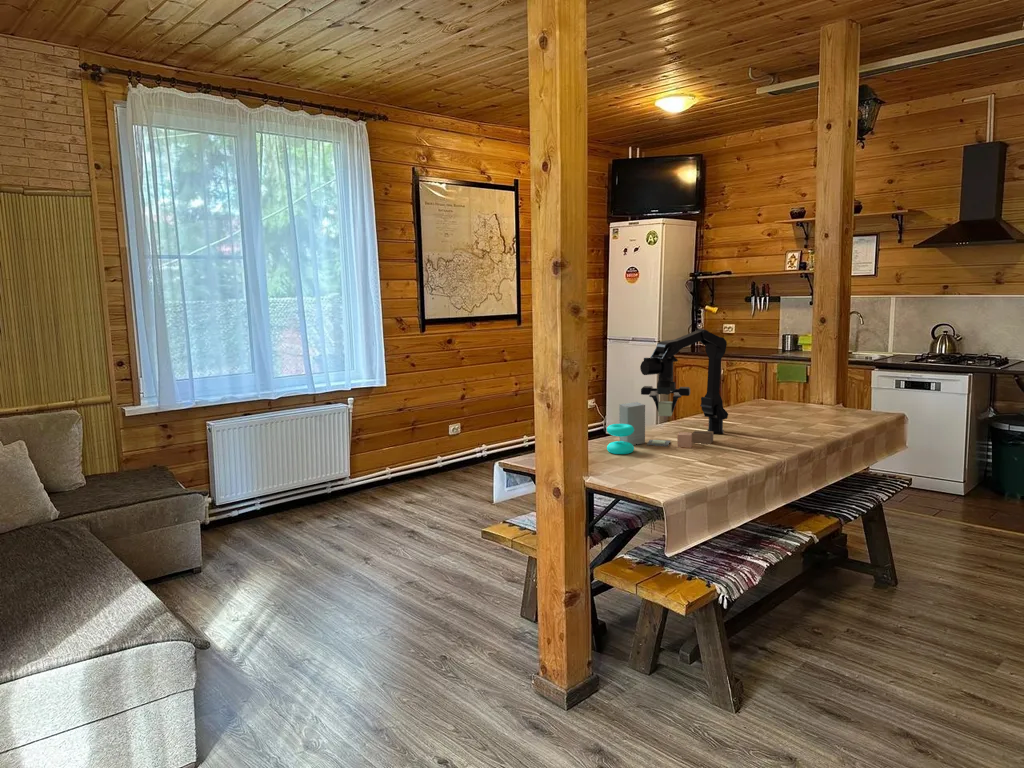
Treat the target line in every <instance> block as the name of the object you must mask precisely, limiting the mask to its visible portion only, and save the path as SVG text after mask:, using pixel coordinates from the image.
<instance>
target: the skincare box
mask: <svg viewBox="0 0 1024 768" xmlns="http://www.w3.org/2000/svg"><path fill="white" fill-rule="evenodd" d="M618 406H619V409H618V410H619V413H618V414H619V418H618V419H619V420H618V421H619V422H618V424H629V425H631V426H633V427H634V432H633V433H632V434H631V435H629V436H623V437H619V441H625V442H629V443H631V444H632V445H633V446H635V445H636V444H637V445H642V444H645V443H646V404H645V403H641V402H638V401H635V402H629V403H622V404H619V405H618Z"/></svg>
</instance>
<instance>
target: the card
mask: <svg viewBox="0 0 1024 768" xmlns="http://www.w3.org/2000/svg"><path fill="white" fill-rule="evenodd" d="M669 443H671V440H668V439H667V440H664V439H663V440H662V439H649V440H648V442H647V443H646V446H648V445H653V446H652V447H669V446H670V444H669ZM654 445H655V446H654ZM668 445H669V446H668Z"/></svg>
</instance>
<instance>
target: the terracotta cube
mask: <svg viewBox="0 0 1024 768" xmlns="http://www.w3.org/2000/svg"><path fill="white" fill-rule="evenodd" d="M692 433H693V432H690V431H688V432H687V431H686V432H684V431H682V432H681V431H678V433H677V436H676V437H677V440H676V441H677V448H679V447H690V448H689V449H692V446H693V443H692Z"/></svg>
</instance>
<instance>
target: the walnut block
mask: <svg viewBox="0 0 1024 768" xmlns="http://www.w3.org/2000/svg"><path fill="white" fill-rule="evenodd" d="M691 433H692V444H695V443H701V444H700V445H708V444H710V445H712V444H713V442H714V433H713V432H712V431H707V430H694V431H693V432H691Z"/></svg>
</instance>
